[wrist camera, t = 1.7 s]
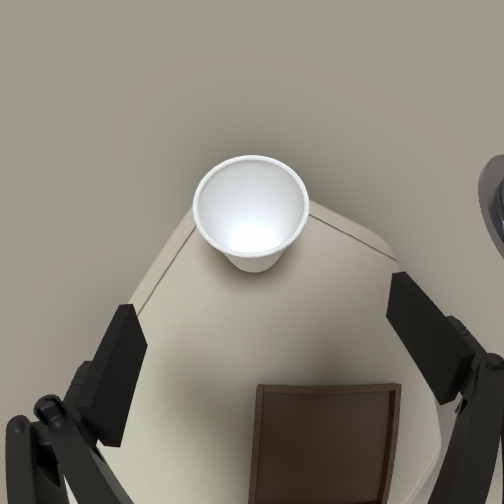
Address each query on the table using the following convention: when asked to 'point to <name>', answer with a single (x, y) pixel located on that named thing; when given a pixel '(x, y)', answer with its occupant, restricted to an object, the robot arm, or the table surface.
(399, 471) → the table surface
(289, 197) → the cup
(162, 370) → the table surface
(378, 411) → the square brown tray
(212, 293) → the table surface
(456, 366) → the robot arm
